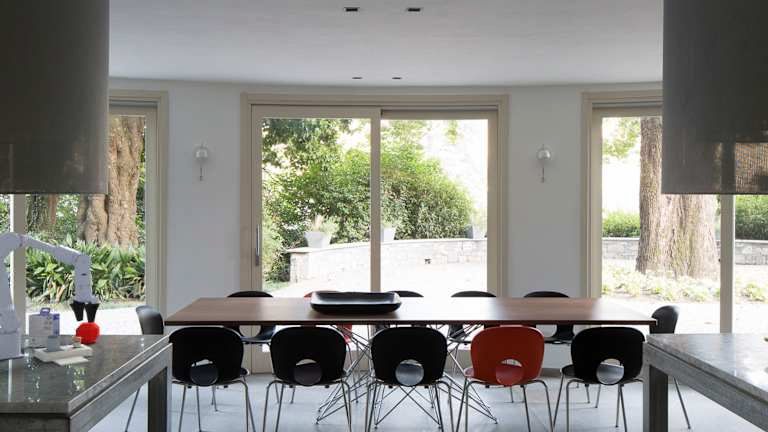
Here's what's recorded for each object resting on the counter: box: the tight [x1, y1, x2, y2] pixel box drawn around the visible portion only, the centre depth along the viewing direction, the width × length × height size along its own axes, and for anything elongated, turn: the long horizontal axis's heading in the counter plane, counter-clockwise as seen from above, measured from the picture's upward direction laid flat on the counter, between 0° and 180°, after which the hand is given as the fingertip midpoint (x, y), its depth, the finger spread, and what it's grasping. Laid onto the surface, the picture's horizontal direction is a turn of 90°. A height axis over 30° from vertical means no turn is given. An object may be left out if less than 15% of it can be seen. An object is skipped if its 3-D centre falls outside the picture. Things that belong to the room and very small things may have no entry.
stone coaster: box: [52, 356, 90, 367], centre depth 246 cm, size 9×9×1 cm
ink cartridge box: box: [27, 307, 61, 348], centre depth 274 cm, size 10×6×14 cm, turn 89°
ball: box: [75, 321, 101, 344], centre depth 282 cm, size 8×8×8 cm
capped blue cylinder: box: [45, 335, 61, 353], centre depth 254 cm, size 4×4×8 cm
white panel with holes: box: [34, 343, 93, 363], centre depth 256 cm, size 16×12×2 cm
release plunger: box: [71, 336, 82, 349], centre depth 259 cm, size 3×3×4 cm
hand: (85, 321), depth 268 cm, fingers open, 7 cm apart
